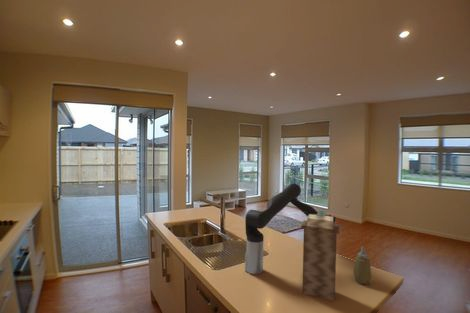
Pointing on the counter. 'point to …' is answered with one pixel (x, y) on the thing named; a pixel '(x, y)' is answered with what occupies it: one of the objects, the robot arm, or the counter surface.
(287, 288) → the counter surface
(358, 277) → the squeeze bottle
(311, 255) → the stand
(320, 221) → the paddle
